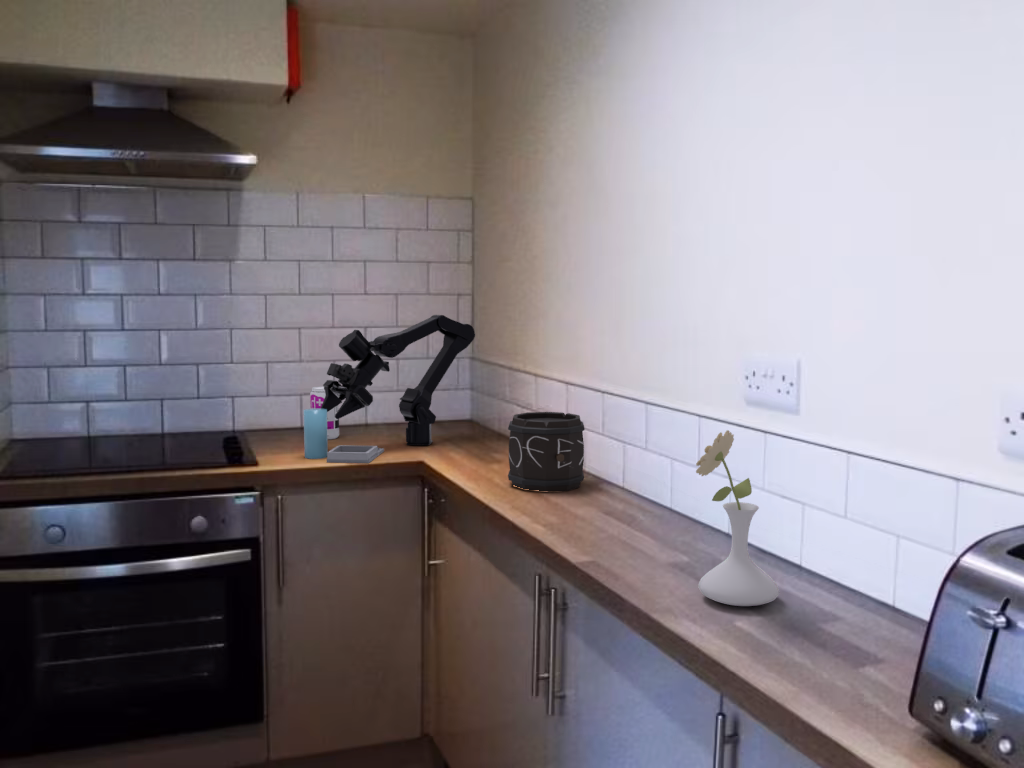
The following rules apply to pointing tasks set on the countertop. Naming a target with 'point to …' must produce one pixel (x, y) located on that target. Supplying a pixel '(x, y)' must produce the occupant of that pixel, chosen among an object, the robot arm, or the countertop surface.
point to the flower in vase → (734, 541)
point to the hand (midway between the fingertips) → (327, 416)
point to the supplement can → (332, 423)
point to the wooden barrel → (546, 451)
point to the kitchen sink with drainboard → (353, 454)
